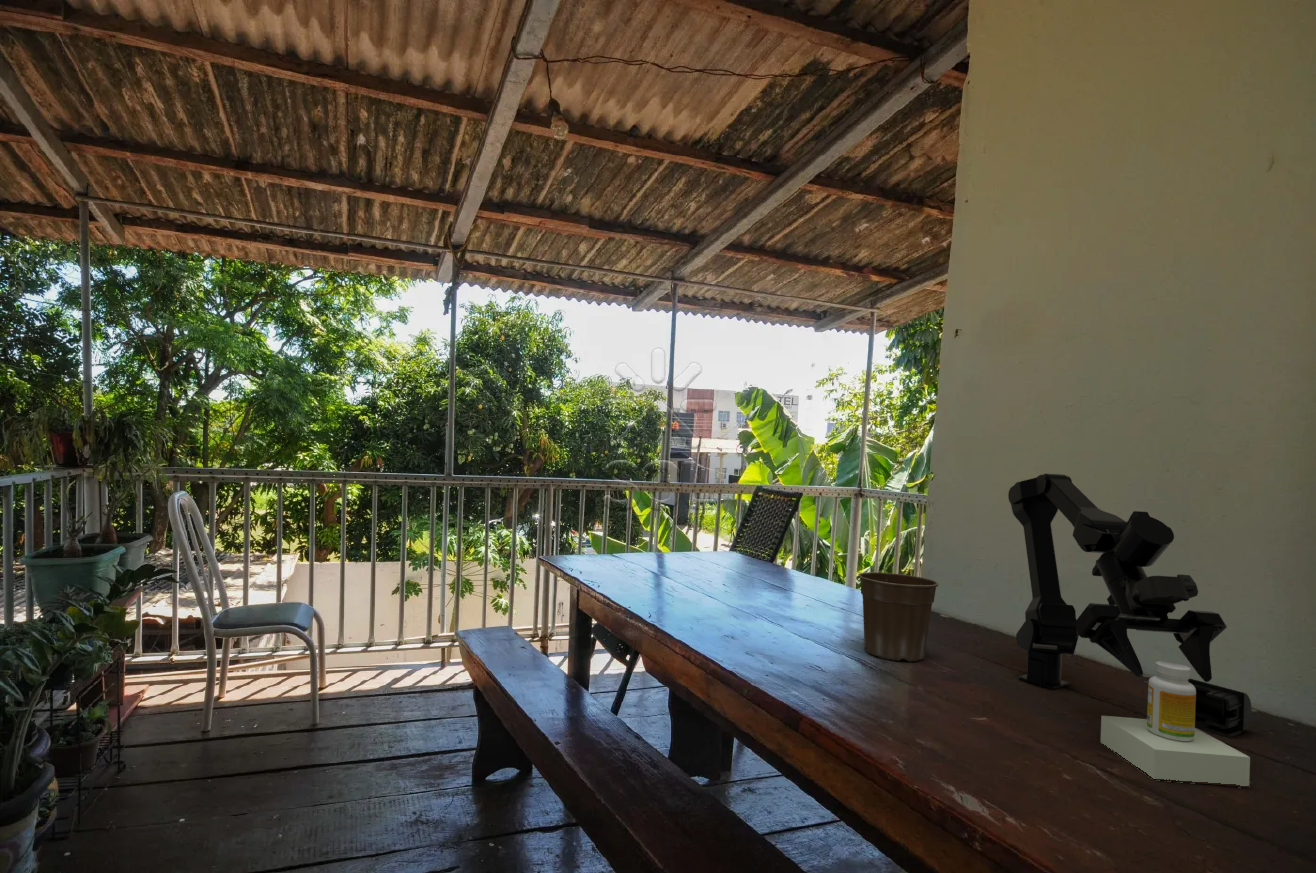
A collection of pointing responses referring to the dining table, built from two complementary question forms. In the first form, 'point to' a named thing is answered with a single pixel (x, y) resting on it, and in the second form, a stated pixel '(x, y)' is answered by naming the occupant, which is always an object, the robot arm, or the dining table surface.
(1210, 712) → the end cap
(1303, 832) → the dining table surface
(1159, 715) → the supplement bottle
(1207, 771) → the plinth
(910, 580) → the plant pot
